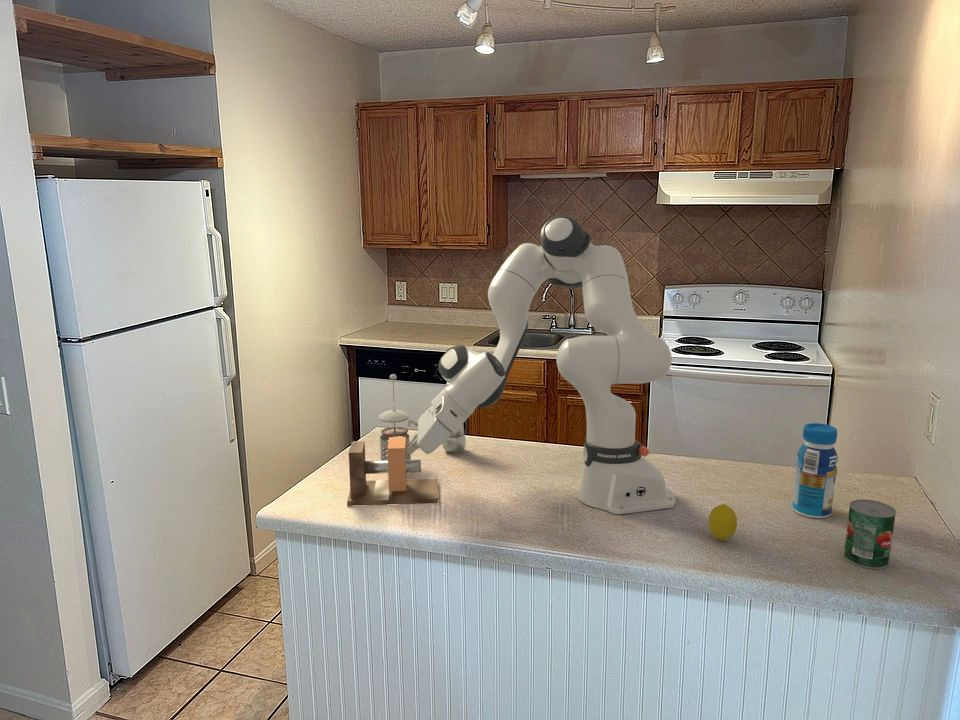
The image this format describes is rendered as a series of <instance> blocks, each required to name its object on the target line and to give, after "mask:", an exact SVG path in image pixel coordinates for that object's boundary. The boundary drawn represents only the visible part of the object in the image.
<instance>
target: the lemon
mask: <svg viewBox="0 0 960 720" xmlns="http://www.w3.org/2000/svg"><path fill="white" fill-rule="evenodd" d="M737 526H738V519H737V514H736V513H735V510H734V509H733V508H732V507H730V506H728V505H727V504H724V503H721V504H720V505H717V506H715V507H714V508H712V510H711V511H710V514H709V517H708V528H709V531H710V533H711V534H712V535H713V536H714V537H715V538H717V539H718V540H719V541H725V540H727V539H730V538H731V537H733V536H734V535H735V533H736V530H737Z"/></svg>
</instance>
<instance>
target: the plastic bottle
mask: <svg viewBox="0 0 960 720" xmlns="http://www.w3.org/2000/svg"><path fill="white" fill-rule="evenodd" d="M448 385H449V382H447V381H446V387H447V386H448ZM464 427H465V426H464V424H463V425H462V427H461V429H460V430H459V431H458V432H457V433H456V434H454V433H453V432H452V434H451V436H450V437H449V438H448V439H447V440H446V441H445V442H444V443H442V444H441V445H442V449H443V450H444V451H445V452H448V453H461V452H463V451H464V450H465V449H466V445H467V440H466V436H465V429H464Z"/></svg>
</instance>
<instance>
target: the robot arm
mask: <svg viewBox="0 0 960 720" xmlns="http://www.w3.org/2000/svg"><path fill="white" fill-rule="evenodd" d="M591 240H592V237H591V235H590V234H589V233H588V232H587V231H586V229H585V228H584V227H583V226H582V225H581V223H579V222H578V220H576V219H575V218H574V217H572V216H570V215H565V214H564V215H557V216H553V217H551V218H549V220H547V221H546V222H545V223H544V224H543V226H542V227H541V231H540V245H538V244H535V243H531V242H525V243H522V244H520V245H519V246H518V247H516V249H515V250H514V251H513V252H511V253H510V255H509V256H508V257H507V258H506V259H505V261H504V262H503V264H502V265H501V266H500V268H499V269H498V271H497V272H496V274H495V275H494V276H493V278H492V280H491V282H490V284H489V287H488V289H487V299H488V302H489V303H488V304H489V306H490V308H491V311H492V313H493V314H494V317H495V319H496V321H497V324H498V328H499V340H498V343H497V345H496V348H495V350H494V352H493V353H491V352H489V351H482V352H479V351H475V350H473V349H471V348H469V347H467V346H466V345H463V344H457V345H453V346H452V347H450V348H448V349H447V350H446V351H445V352H444V353H443V354H442V355H441V357H440V359H439V362H438V372H439V374H440V375H441V377H442V378H443V379H444V380H445V381H446V383H447V382H449V385H448V386H447V385H446V386H445V387H444V388H443V389H442V390H440V392H439V393H437V395H436V396H435V397H434V398H433V399H432V400H431V406H430V407H429V408H428V409H426V410H425V411H424V412H423V413H422V414H421V415H420V416H419V418H418V420H417V424H418V428H417V431H416V433H415V434H414V435H413V437H412V438H411V439H410V440H409V443H408V444H407V448H406V450H407V452H408V453H410V455H412V454H413V453H415V452H416V451H417V450H418V449H420V450H421V451H422V452H423V453H425V455H429V454H431V453H433V452H435V450H437V449H438V448H439V447H440V446H441V445H442V443H444V442H445V441H446V440H447V439H448V438H449V437H450V436H451V434H452V432H453V433H454V434H456V433H457V432H458V431H459V430H460V429H461V427H462V425H463V426H464V423H465V422H466V421H467V419H469V418H470V416H472V415H473V413H474V412H475V410H476V409H477V408H487V407H491V406H493V405H495V404H497V403H498V401H500V400H501V398H502V395H503V393H504V391H505V387H506V383H507V379H508V376H509V375H510V374H509V373H510V371H511V369H512V367H513V364H514V363H515V360H516V357H517V355H518V354H519V351H520V348H521V347H522V344H523V341H524V340H525V336H526V333H527V331H528V328H529V319H528V317H529V316H528V315H529V310H530V306H531V303H532V301H533V299H534V297H535V295H536V294H537V292H538V291H539V289H540V287H541V285H542V284H543V283H544V282H545V281H546V280H548V282H549V283H550V284H551V285H554V286H560V287H563V288H567V289H580V288H582V289H581V290H582V298H583V309H584V310H583V311H584V316H585V319H586V321H588V323H589V325H591V327H593V328H595V329H596V330H599V331H601V332H603V333H604V334H606V335H582V336H581V335H580V336H576V337H572V338H567V339H565V340H564V341H563V342H562V343H561V345H560V346H559V347H558V350H557V353H556V367H557V371H558V372H559V374H560V375H561V376H562V378H563V379H564V380H566V382H568V383H569V384H571V386H573V387H574V388H575V390H576V391H577V392H578V394H579V395H580V397H581V399H582V401H583V403H584V407H585V417H586V437H585V439H584V442H583V453H582V454H583V457H582V459H583V463H584V465H583V472H582V477H581V482H580V486H579V490H578V491H577V494H576V495H577V498H578V499H579V500H580V502H582V503H583V504H585V505H587V506H590V507H593V508H596V509H600V510H604V511H607V512H609V513H611V514H614V515H624V514H631V513H632V514H633V513H638V512H639V513H641V512H647V511H656V510H663V509H664V510H665V509H671V508H672V509H673V508H674V507H675V506H676V496H675V495H674V493H673V492H672V490H670V488H668V487H667V486H666V481H665V478H664V475H663V473H662V472H661V471H660V469H658V467H656V466H655V465H654V464H653V463H652V462H650V461H649V460H648V459H646V457H648V455H650V450H649V449H648V448H647V447H646V445H643V444H642V443H641V442H639V441H638V440H636V435H635V434H636V423H637V422H636V420H637V419H636V418H637V413H636V410H635V408H634V406H633V404H631V403H630V402H628V401H627V400H626V399H624V398H622V397H620V396H617V395H615V394H614V393H612V392H611V386H612V385H615V384H616V385H617V384H618V385H619V384H620V385H621V384H622V385H623V384H631V385H632V384H640V385H642V384H646V383H651V382H657V381H661V380H663V379H664V378H665V377H666V375H668V373H669V372H670V369H671V367H672V363H673V361H672V359H673V358H672V353H671V352H672V351H671V349H670V347H669V345H668V344H667V342H666V341H665V340H664V339H663V338H661V337H659V336H657V335H655V334H654V333H653V332H651V331H650V330H649V329H648V328H647V327H646V326H645V325H644V324H643V323H642V322H641V321H640V319H639V318H638V316H637V314H636V312H635V309H634V304H633V301H632V297H631V290H630V283H629V282H630V281H629V277H628V272H627V269H626V265H625V262H624V259H623V257H622V254H621V253H620V251H619V250H618V249H617V248H616V247H613V246H610V245H602V244H601V245H594V244H593V243H592V242H591Z"/></svg>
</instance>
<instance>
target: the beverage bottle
mask: <svg viewBox="0 0 960 720" xmlns="http://www.w3.org/2000/svg"><path fill="white" fill-rule="evenodd" d="M802 431H803V432H802V440H803V442H804V443H802V445H800V448H799V449H798V452H797V457H798V459H797V460H796V462H795V477H794V486H793V497H792V504H791V507H792V509H793V511H794V512H795V513H796V514H799V515H800V516H803V517H806V518H811V519H826V518H829V517H830V516H831V515H832V512H833V502H834V495H835V494H834V493H835V488H836V487H835V485H836V478H837V474H838V467H837V463H838V462H839V456H838V453H837V451H836V449H835V447H834V446H835V444H836V443H837V439H838V429H837V428H836V427H835V426H833V425H829V424H825V423H817V422H812V423H806V424H805V425H803V429H802Z"/></svg>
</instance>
